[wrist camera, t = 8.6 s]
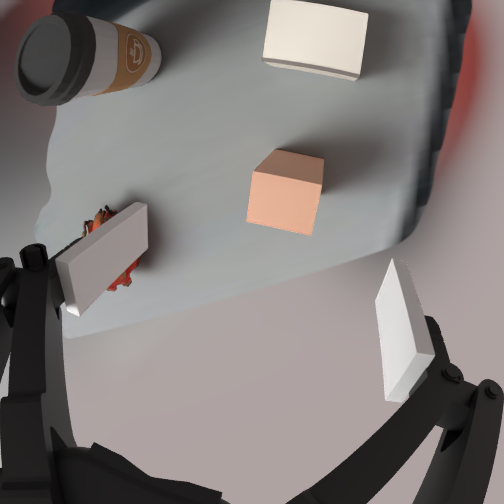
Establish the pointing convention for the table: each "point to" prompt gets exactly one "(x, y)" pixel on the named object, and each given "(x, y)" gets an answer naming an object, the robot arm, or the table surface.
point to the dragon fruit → (92, 225)
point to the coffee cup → (81, 58)
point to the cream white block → (315, 38)
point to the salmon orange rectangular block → (286, 191)
